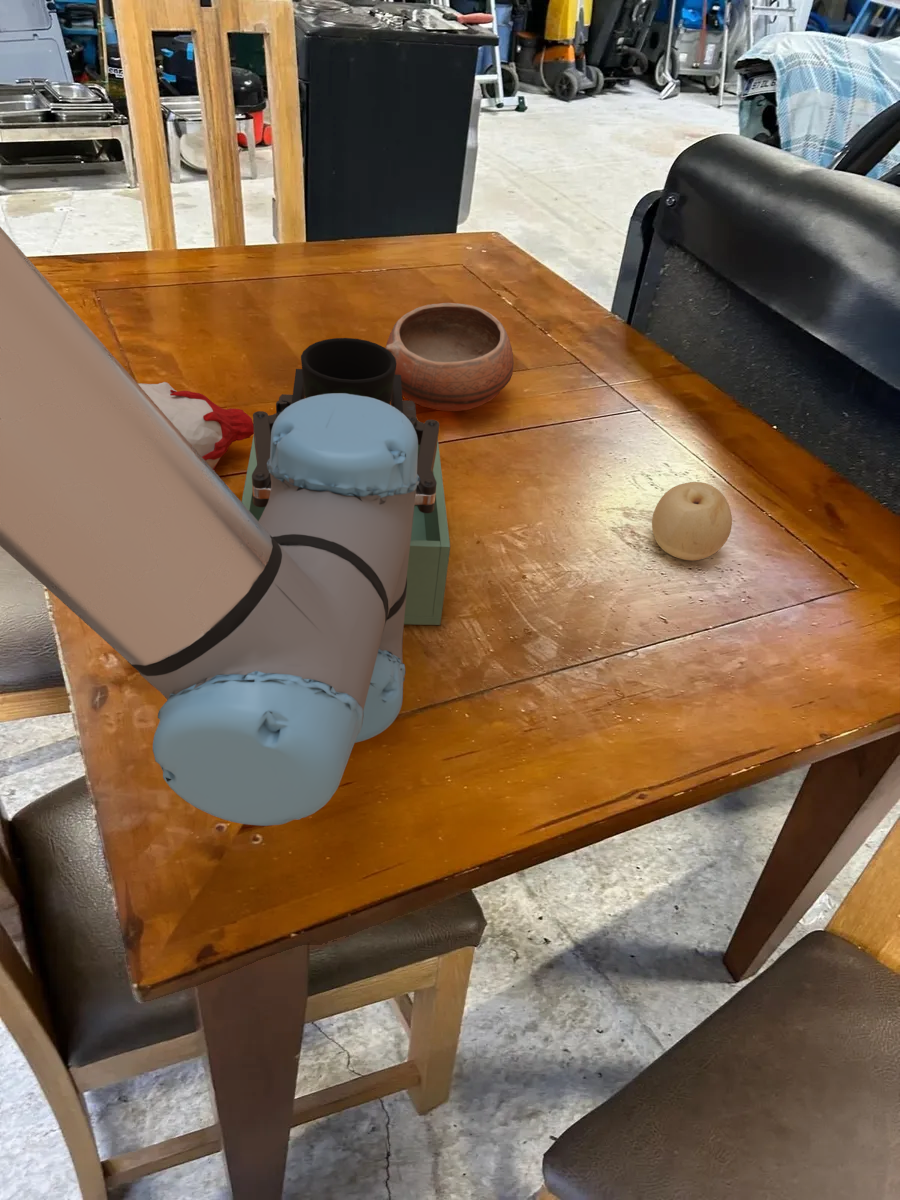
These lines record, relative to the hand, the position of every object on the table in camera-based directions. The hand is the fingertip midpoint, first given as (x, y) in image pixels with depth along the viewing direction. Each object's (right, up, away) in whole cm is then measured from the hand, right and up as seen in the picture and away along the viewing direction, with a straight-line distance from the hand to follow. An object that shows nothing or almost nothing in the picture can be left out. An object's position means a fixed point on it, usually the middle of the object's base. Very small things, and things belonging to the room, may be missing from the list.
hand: (348, 385), depth 78 cm
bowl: (+8, +6, +33) cm, 35 cm away
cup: (0, -9, +1) cm, 9 cm away
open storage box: (-1, -15, +7) cm, 17 cm away
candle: (-19, -5, +16) cm, 26 cm away
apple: (+33, -14, +14) cm, 39 cm away
